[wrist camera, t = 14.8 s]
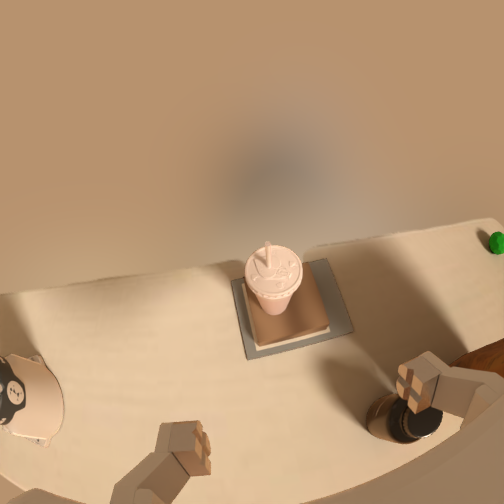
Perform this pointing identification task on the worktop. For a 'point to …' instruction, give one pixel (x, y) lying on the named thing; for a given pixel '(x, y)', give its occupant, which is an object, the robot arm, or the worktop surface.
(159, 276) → the worktop surface
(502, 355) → the pancake mix bag
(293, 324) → the base block
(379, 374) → the worktop surface
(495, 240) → the polyhedron
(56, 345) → the worktop surface
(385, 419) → the supplement bottle
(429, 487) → the robot arm
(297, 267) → the smoothie
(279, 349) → the mat
